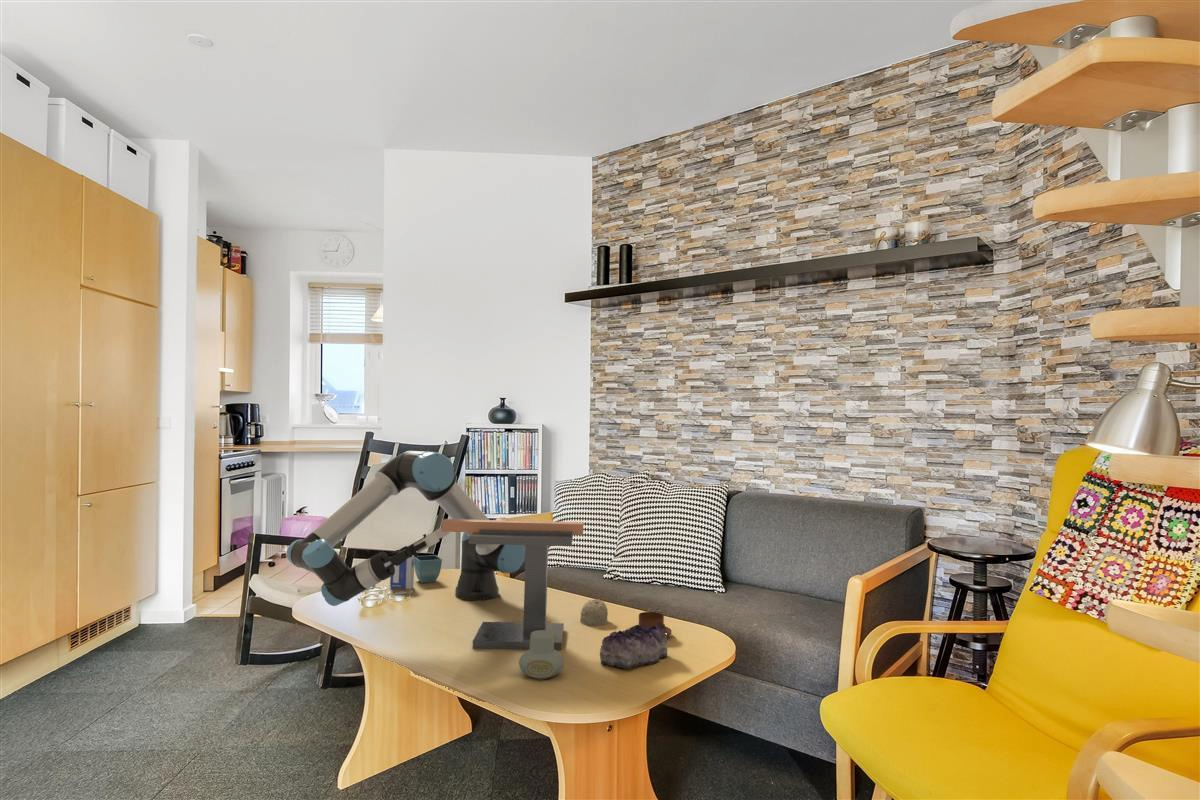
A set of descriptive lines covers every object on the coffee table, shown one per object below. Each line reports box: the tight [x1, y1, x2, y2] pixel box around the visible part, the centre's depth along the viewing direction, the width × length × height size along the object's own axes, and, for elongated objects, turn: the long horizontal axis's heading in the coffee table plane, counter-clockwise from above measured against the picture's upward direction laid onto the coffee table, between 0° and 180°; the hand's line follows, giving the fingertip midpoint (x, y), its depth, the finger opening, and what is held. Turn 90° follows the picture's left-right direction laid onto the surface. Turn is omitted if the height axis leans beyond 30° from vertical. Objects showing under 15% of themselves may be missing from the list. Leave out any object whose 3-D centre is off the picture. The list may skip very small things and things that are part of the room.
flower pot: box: [414, 554, 443, 584], centre depth 259 cm, size 9×9×9 cm
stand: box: [469, 529, 574, 651], centre depth 193 cm, size 28×18×31 cm, turn 91°
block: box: [440, 518, 584, 536], centre depth 194 cm, size 40×4×3 cm, turn 91°
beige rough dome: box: [579, 598, 608, 627], centre depth 211 cm, size 9×9×9 cm
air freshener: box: [518, 630, 565, 680], centre depth 165 cm, size 11×8×10 cm
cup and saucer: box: [630, 611, 673, 638], centre depth 198 cm, size 12×12×6 cm
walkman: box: [389, 555, 415, 590], centre depth 248 cm, size 8×3×12 cm, turn 86°
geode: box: [599, 624, 668, 670], centre depth 177 cm, size 20×12×10 cm, turn 132°
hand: (442, 532), depth 193 cm, fingers open, 13 cm apart
